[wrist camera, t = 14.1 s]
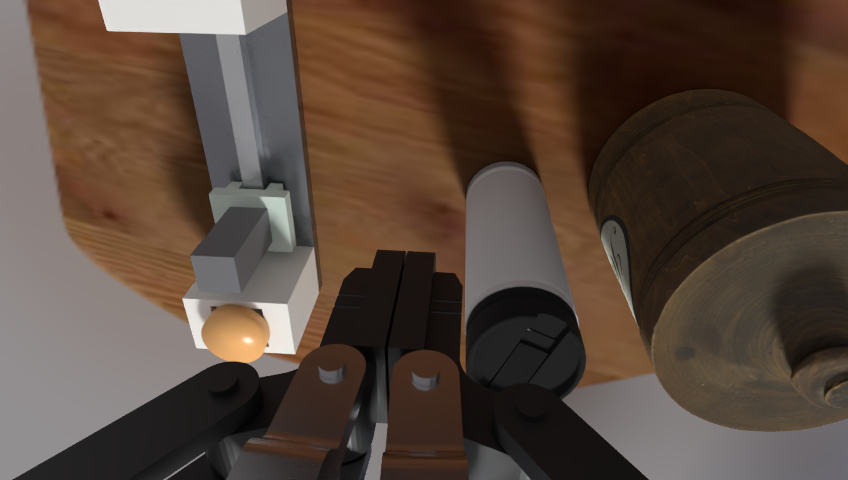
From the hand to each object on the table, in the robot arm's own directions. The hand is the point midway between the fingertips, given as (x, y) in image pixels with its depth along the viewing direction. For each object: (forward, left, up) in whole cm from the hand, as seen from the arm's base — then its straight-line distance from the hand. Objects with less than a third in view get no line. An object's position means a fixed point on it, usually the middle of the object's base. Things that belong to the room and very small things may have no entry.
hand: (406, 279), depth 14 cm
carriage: (+13, -15, -27) cm, 34 cm away
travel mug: (+12, +5, -29) cm, 31 cm away
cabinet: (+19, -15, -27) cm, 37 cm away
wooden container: (+10, +19, -29) cm, 36 cm away
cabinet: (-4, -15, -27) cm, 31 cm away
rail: (+8, -15, -29) cm, 33 cm away
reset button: (+19, -15, -25) cm, 35 cm away
